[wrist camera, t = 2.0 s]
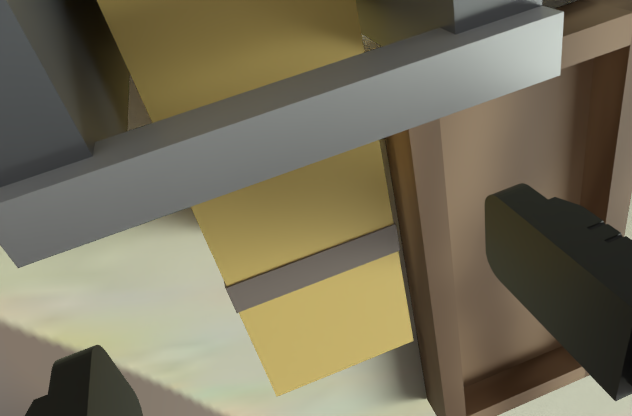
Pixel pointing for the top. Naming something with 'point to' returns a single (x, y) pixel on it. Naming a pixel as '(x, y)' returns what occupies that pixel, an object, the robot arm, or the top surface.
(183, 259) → the top surface
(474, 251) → the tray
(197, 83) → the grey-banded yellow bar
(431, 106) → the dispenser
